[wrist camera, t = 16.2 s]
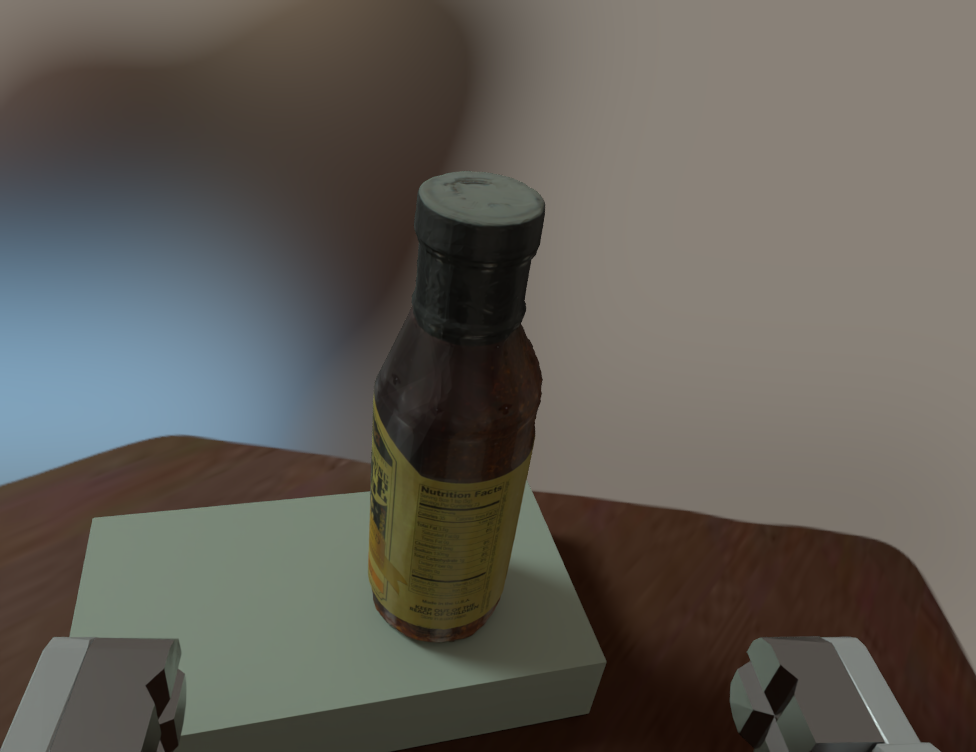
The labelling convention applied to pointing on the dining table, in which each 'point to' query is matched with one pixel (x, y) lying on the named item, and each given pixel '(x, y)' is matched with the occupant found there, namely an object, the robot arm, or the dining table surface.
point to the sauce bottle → (456, 411)
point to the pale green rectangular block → (330, 630)
